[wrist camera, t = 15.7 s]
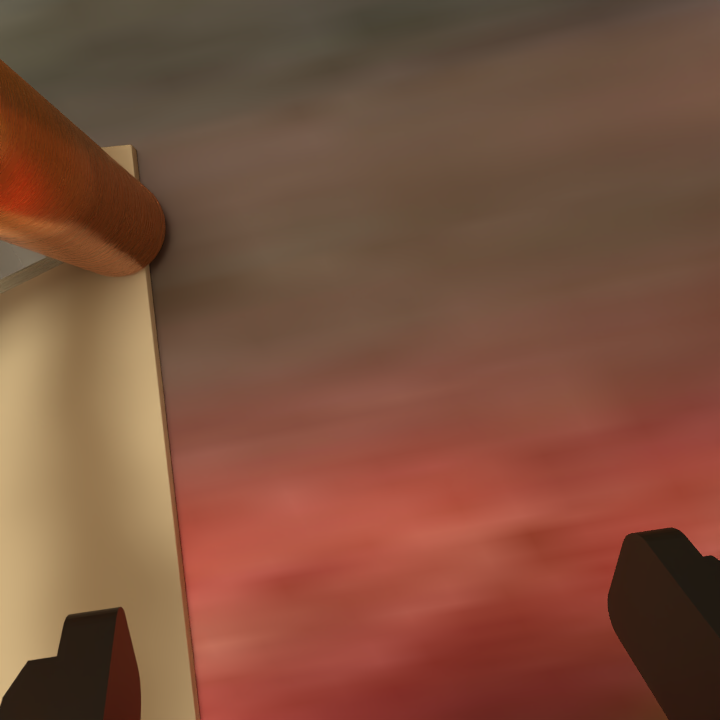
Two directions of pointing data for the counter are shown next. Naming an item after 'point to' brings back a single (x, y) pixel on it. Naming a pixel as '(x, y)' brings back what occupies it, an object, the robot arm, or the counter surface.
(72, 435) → the hub board
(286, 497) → the counter surface
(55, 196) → the lever
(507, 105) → the counter surface
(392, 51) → the counter surface
